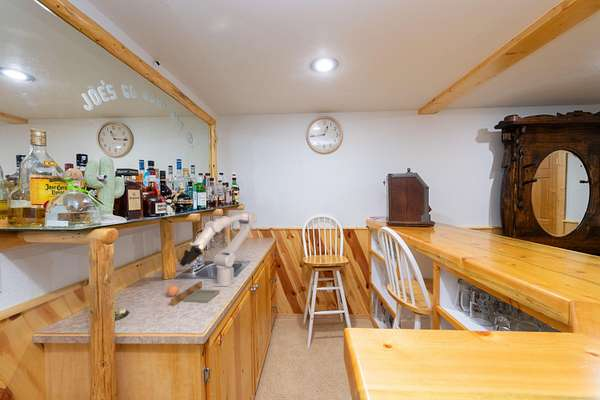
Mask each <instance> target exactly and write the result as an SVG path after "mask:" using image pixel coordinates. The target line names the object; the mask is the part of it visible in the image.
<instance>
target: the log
mask: <svg viewBox="0 0 600 400" xmlns="http://www.w3.org/2000/svg"><path fill="white" fill-rule="evenodd" d="M130 313H131V312H130V311H129V310H127V309H126V308H124V307H122V308H121V307H115V322H118V321H121V320H122V319H124V318H126V317H128V316H129V314H130Z"/></svg>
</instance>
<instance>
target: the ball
mask: <svg viewBox="0 0 600 400" xmlns="http://www.w3.org/2000/svg"><path fill="white" fill-rule="evenodd" d="M179 288H180V287H179V286H178V285H175V284H172V285H170V286H169V287H168V288H167V291H166V292H167V293H166V294H167V295H168V296H169V297H175V296H177V295H178V294H179V292H180V289H179Z"/></svg>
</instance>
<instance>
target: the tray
mask: <svg viewBox="0 0 600 400" xmlns="http://www.w3.org/2000/svg"><path fill="white" fill-rule="evenodd" d="M219 294H220V289H202V288H200V289H198V290H197V291H195V292H194V293H192V294H191V295H189V296H188V297H186V298H185V299H184V302H185V303H198V304H199V303H200V304H201V303H203V304H205V303H206V304H208V303H209V302H210V301H212V300H213V299H214V298H215V297H216V296H218V295H219Z"/></svg>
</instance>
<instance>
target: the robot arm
mask: <svg viewBox="0 0 600 400" xmlns="http://www.w3.org/2000/svg"><path fill="white" fill-rule="evenodd" d="M235 222H238V223H239V224H238V225H239V227H240V230H239V231H238V232H237V234H236V235H235V236H234V237H233V239H232V240H231V242H230V243H229V244H228V245H227V247H225V248H224V249H221V250H220V252H219V253H217V254H215V256H214V257H213V264H214V266H215V268H216V279H217V280H216V281H217V282H216V283H215V284H213V286H214V287H229V286H231V285H232V284H233V283H234V282H235V281H236V279H235V271H234V270H235V269H234V267H233V265H234V263H235V260H236V259H237V255H236V253H237V251H238V250H239V249H240V247H241V245H242V244H243V243H244V242H245V240H246V239H247V237H248V236H249V235H250V233H251V232H252V229H253V227H254V225H255V223H257V214H256V212H254V211H252V212H251V211H249V212H245V211H241V212H238V213H236V214H233V215H230V216H226V215H222V216H221V217H220V218H215V219H213V220H208V221H207V222H205V224H204V227H203V229H202V231H201V232H200V234H198V236H197V237H196V238H195V239H194V241H193V242H189V243H188V245H189V250H187V249H185V250H184V252H183V255H182V258H181V259H180V261H179V265H180V266H181V267H184V266H185V267H186V265H190V264H192V262H194V261H195V260H196V259H197V258H198V257H200V256H201V255H203V254H204V253H203V250H204V249H205V248H206V246H207V245H208V244H209V243H210V241H211V240H212V239H213V238H214V236H215V235H216V233H220V232H221V231H222V230H223V229H226V228H228V227H230V226H231V224H233V223H235Z"/></svg>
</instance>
